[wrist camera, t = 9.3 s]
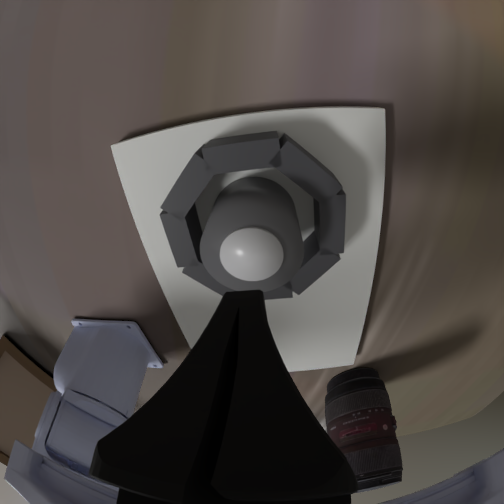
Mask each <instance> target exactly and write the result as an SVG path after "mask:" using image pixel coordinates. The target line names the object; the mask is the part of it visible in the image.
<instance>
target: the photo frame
mask: <svg viewBox="0 0 504 504" xmlns="http://www.w3.org/2000/svg"><path fill="white" fill-rule="evenodd" d="M56 391H57V389H56V387H55V384H54V379H52V378H51V377H50V376H49V375H47V374H46V373H45V372H43V371H42V370H41V369H40V368H39V367H37V366H36V365H35V364H34V363H33V362H31V361H30V360H29V359H28V358H27V357H26V356H25V355H23V354H22V353H21V352H20V351H19V350H18V349H17V348H16V347H15V346H14V345H13V344H12V343H11V342H10V341H9V340H8V339H7V338H6V337H5V336H4V335H3V336H2V337H1V339H0V462H1V463H3V464H5V465H6V466H7V465H8V462H9V458H10V455H11V451H12V448H13V445H14V442H15V440H16V439H17V440H18V441H20V442H22V443H23V444H25V445H26V446H28V447H29V448H31V449H32V446H33V443H34V440H35V432H36V429H37V427H38V424H39V421H40V418H41V416H42V413H43V410H44V408H45V405H46V403H47V400H48V398H49V396H50V393H51V392H56ZM61 397H62V396H61Z"/></svg>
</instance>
